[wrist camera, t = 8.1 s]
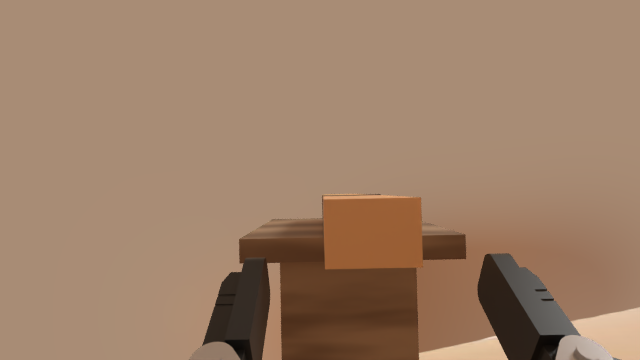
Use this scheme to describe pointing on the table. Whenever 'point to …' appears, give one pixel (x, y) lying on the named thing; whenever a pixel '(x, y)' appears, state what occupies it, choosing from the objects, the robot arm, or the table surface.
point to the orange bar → (372, 231)
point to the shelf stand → (344, 294)
